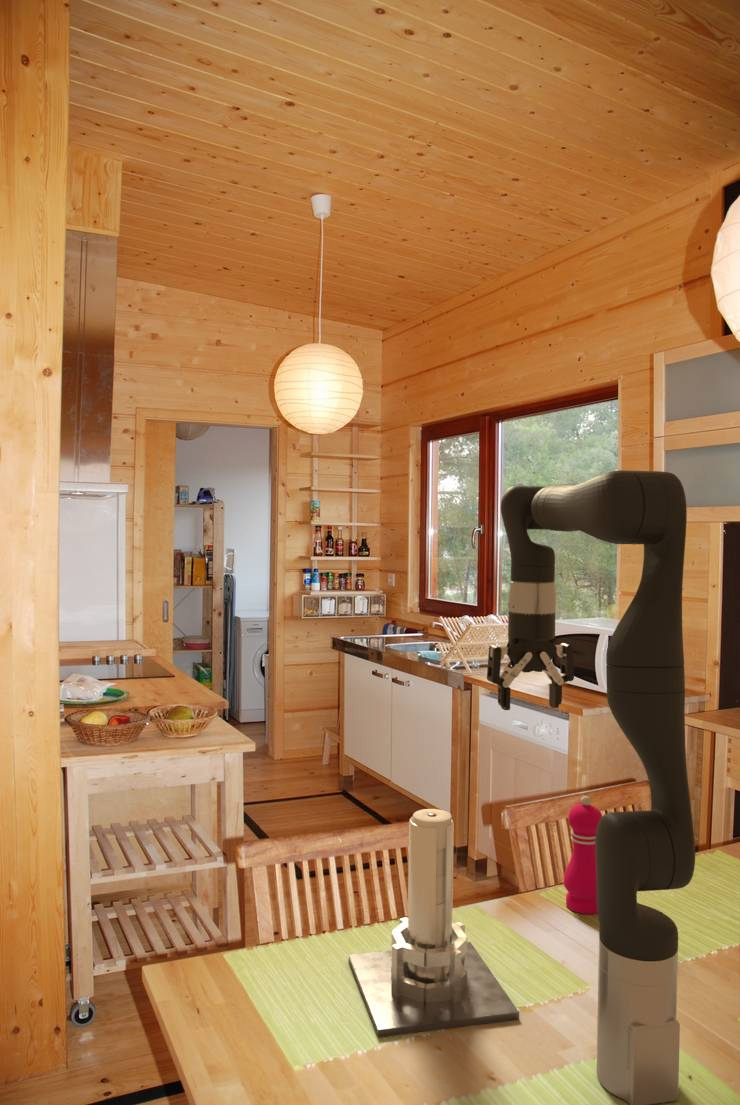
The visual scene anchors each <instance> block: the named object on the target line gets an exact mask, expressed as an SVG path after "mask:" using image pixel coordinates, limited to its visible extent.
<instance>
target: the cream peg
mask: <svg viewBox="0 0 740 1105" xmlns="http://www.w3.org/2000/svg"><path fill="white" fill-rule="evenodd" d="M452 818H453V817H452V814H451V812H448V811H446V810H442V809H437V808H423V809H419V810H416V811H415V812H413V814H412V816H411V817H410V818H409V820H408V868H407V869H408V872H407V873H408V874H407V875H408V876H407V878H408V879H407V880H408V881H407V882H408V883H407V885H408V886H407V887H408V888H407V890H408V891H407V918H408V944H410V945H414V946H417V947H420V948H423V949H435V948H445V947H449V946H450V945H451V944H453V942H452V923H453V902H454V901H453V900H454V899H453V896H454V895H453V892H454V891H453V890H454V886H453V885H454V884H453V883H454V835H455V834H454V829H455V827H454V825H455V824H454V820H453V819H452ZM407 978H409V979H412V980H415V981H418V982H421V983H424V984H431V983H440V982H448V981H449V965H448V966H439V967H430V968H426V966H425V967H424V968H423V967H420V966H417V965H414V964H411V963H408V962H407Z"/></svg>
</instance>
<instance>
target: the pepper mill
mask: <svg viewBox="0 0 740 1105" xmlns="http://www.w3.org/2000/svg"><path fill="white" fill-rule="evenodd" d="M591 801H592V800H591V798H590V797H589V796H588V795H584V796H582V797H581V798H580V803H578V804H576V805H573V806H572V807H571V808H570V810H569V812H568V816H567V822H568V824H569V826H570V827H571V828H572V829H571V830H570V834H571V835H570V839H571V841H572V846H573V847H572V853H571V857H570V860H569V862H568V864H567V866H566V869H565V871H564V875H563V885H564V887H565V889H566V891H567V892H566V894H565V905H566V907H567V908H568V909H569V910H571V911H572V912H575V913H578V914H581V913H582V914H583V915H593V914H598V910H597V877H596V854H595V840H596V831H597V826H598V823H599V821H600V819H601V817H602V816H603V815H602V813H601V811H600V809H598V807H596V806H595V805H592V804H591Z"/></svg>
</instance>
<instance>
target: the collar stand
mask: <svg viewBox="0 0 740 1105" xmlns="http://www.w3.org/2000/svg"><path fill="white" fill-rule="evenodd" d="M465 929H466V925H465V924H464V923H462V922H461V921H458V922H455V923H454V922H452V944H451V945H450V946H449V947H445V948H435V949H423V948H420V947H417V946H414V945H410V944H408V916H407V917H406V916H405V917H402V918H399V925H398V926H396V927H395V928H393V930H391V950H390V949H389V950H381V951H373V952H364V953H362V952H361V953H354V954H353V953H352V954H348V963H349V965H350V968H351V970H352V973H354V974H353V976H354V978H356V979H355V980H356V984H357V983H358V984H357V986H358V985H359V986H358V989H359V988H360V989H359V991H360V990H361V992H360V994H361V993H362V994H361V996H363V997H362V999H363V998H364V999H363V1001H365V1002H364V1004H365V1003H366V1005H365V1007H366V1006H367V1007H366V1009H367V1008H368V1010H367V1012H368V1011H369V1012H368V1014H370V1015H369V1017H370V1016H371V1017H370V1020H371V1019H372V1020H371V1022H373V1023H372V1024H374V1025H373V1027H375V1028H374V1031H375V1033H376V1032H377V1033H376V1035H377V1037H378V1038H382V1036H384V1037H389V1036H390V1035H392V1036H398V1035H399V1034H400V1035H406V1034H414V1033H422V1032H423V1033H424V1032H430V1031H438V1030H445V1029H453V1028H459V1027H460V1028H461V1027H468V1026H476V1025H483V1024H484V1025H485V1024H493V1023H497V1022H498V1023H499V1022H500V1023H501V1022H508V1021H509V1022H510V1021H514V1020H515V1021H516V1020H520V1011H519V1009H518V1008H517V1007H516V1005H515V1003H514V1002H513V1001H512V1000H511V998H510V997H509V996H508V994H507V993H506V991H505V989H504V988H503V987H502V985H501V983H499V981H498V980H497V978H496V976H495V975H494V974H493V972H492V971H491V969H490V968H489V966H488V965H487V964H486V963H485V961H484V960H483V958H482V956H481V955H480V953H479V952H478V950H477V949H476V948H475V946H474V945H473V943H472V942H471V941H468V937H467V935H466V932H465V931H466V930H465ZM407 962H408V963H411V964H414V965H417V966H420V967H423V968H424V967H425V966H426V968H430V967H439V966H448V965H449V981H448V982H440V983H431V984H424V983H421V982H418V981H415V980H412V979H409V978H407ZM400 1035H399V1036H400Z"/></svg>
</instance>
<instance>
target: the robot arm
mask: <svg viewBox="0 0 740 1105" xmlns="http://www.w3.org/2000/svg"><path fill="white" fill-rule="evenodd" d="M687 510H688V508H687V498H686V493H685V489H684V485H683V484H682V482H681V479H680V478H679V477H678V476H677V475H676V474H674V473H672V472H669V471H668V472H667V471H660V470H659V471H657V470H624V469H623V470H622V469H618V470H611V471H607V472H606V473H602V474H600V475H597V476H594V477H592V478H590V479H589V480H586V481H583V482H582V483H581V482H580V483H579V484H577V483H560V484H558V483H557V484H551V485H548V486H547V485H543V486H542V485H541V486H539V485H512V486H510V487H508V488H507V489H506V490H505V492H504V493H503V496H502V497H501V500H500V514H501V518H502V522H503V525H504V529H505V532H506V537H507V543H508V548H509V554H510V585H509V592H508V602H507V607H508V609H507V610H508V613H507V614H508V616H507V617H508V620H507V630H508V631H507V638H508V641H507V644H506V646H497V645H495V644H490V645H489V646H488V657H487V673H486V679H487V681H488V682H490V683H491V684H494V685H496V686H497V703H498V706H500V708H501V709H502V710H503V711H510V710H511V687H510V686H511V685H512V682H513V681H514V680H515V679H516V678H517V677H519V676H520V674H521V673H531V672H536V673H542V672H544V674H545V675H546V676H547V678H549V680H550V681H551V683H549V686H548V687H549V688H548V690H549V692H548V695H549V696H548V697H549V698H548V704H549V707H551V708H553V709H559V707H560V705H562V702H563V685H564V684H565V683H567V682H572V681H574V679H575V670H574V668H575V666H574V647H573V645H571V644H568V643H566V642H561V643H560V644H556V642H555V638H556V612H557V611H556V609H557V608H556V607H557V606H556V605H557V604H556V603H557V602H556V601H557V600H556V599H557V598H556V597H557V596H556V585H555V584H556V583H555V580H556V579H555V578H556V577H555V576H556V553H555V550H554V548H552V547H551V546H549V545H546V544H542V543H537V542H534V541H532V539H531V538H530V536H529V533H528V530H539V531H540V530H541V531H542V530H549V531H555V532H567V533H568V532H570V533H571V532H581V533H582V532H583V533H585V534H586V535H588V536H591V537H593V538H596V539H598V540H600V541H603V542H606V543H610V544H614V545H643V563H642V569H641V578H640V581H639V585H638V588H637V591H636V592H635V595H634V597H633V598H632V600H631V602H630V604H629V606H628V607H627V609H626V611H625V612H624V613H623V616H622V617H621V619H620V620H619V621H618V624H617V626H616V628H615V629H614V632H613V633H612V635H611V637H610V639H609V643H608V645H607V649H606V657H605V660H606V661H605V663H606V668H605V669H606V670H605V671H606V673H605V674H606V676H605V677H606V698H607V704H608V708H609V709H610V712H611V714H612V716H613V719H615V722H616V723H617V725H618V726H619V728H620V729H621V731H622V733H623V734H624V736H625V737H626V739H627V740H628V741H629V743H630V744H631V746H632V747H633V749H634V751H635V753H636V754H637V755H638V757H639V759H640V761H641V763H642V765H643V768H644V770H645V773H646V776H647V780H648V784H649V791H650V799H651V800H650V801H651V804H650V805H651V807H650V810H635V811H633V810H632V811H631V810H630V811H629V810H628V811H615V812H614V811H613V812H607V813H605V814H603V815H602V817H601V819H600V821H599V823H598V826H597V831H596V840H595V854H596V877H597V910H598V913H597V914H598V915H597V918H598V928H599V930H598V932H599V934H598V971H597V972H598V976H597V977H598V978H597V981H598V982H597V1018H596V1019H597V1028H596V1031H597V1032H596V1076H597V1079H598V1081H599V1083H600V1084H601V1085H602V1087H603V1088H604V1089H605V1090H607V1091H608V1092H609V1093H610V1094H612V1095H614V1096H615V1097H618V1098H620V1099H622V1100H624V1101H626V1102H627V1103H628V1104H629V1105H655V1104H656V1105H657V1104H663V1103H668V1102H669V1103H670V1102H675V1101H678V1100H679V1084H680V1083H679V1081H680V1076H679V1075H680V1074H679V1073H680V1070H679V1069H680V1039H681V1037H680V1036H681V1034H680V1033H681V1031H680V1030H681V1029H680V1028H681V1024H680V1022H679V1021H678V1020H677V1003H678V1002H677V999H678V998H677V997H678V965H679V964H678V962H679V959H678V958H679V930H678V927H677V925H676V923H675V922H674V920H673V919H672V918H671V917H669V916H668V915H667V914H665V913H663V912H662V911H660V910H658V909H656V908H654V907H651V906H648V905H645V904H642V903H640V902H638V898H637V897H638V896H637V894H638V892H650V891H652V892H653V891H666V890H667V891H669V890H679V889H683V888H685V887H686V886H688V885H689V884H690V883H691V881H692V879H693V876H694V871H695V865H696V843H695V842H696V841H695V833H694V831H695V830H694V822H693V813H692V805H691V796H690V787H689V778H688V767H687V766H688V765H687V748H686V747H687V746H686V721H685V716H686V714H685V710H686V708H685V704H686V700H685V699H686V685H685V684H686V682H685V681H686V680H685V679H686V678H685V659H684V658H685V656H684V655H685V654H684V639H683V638H684V637H683V636H684V635H683V634H684V633H683V632H684V631H683V584H684V583H683V582H684V581H683V580H684V567H685V566H684V564H685V563H684V562H685V550H686V538H687V537H686V536H687V520H688V519H687V516H688V515H687V514H688V513H687V512H688V511H687ZM556 654H557V656H558V657H559V664H560V665H559V666H560V667H559V668H560V670H558V669H557V667H556V665H555V664H554V663H553V661H552V660H553V658H554V657H555V655H556ZM505 655H507V657H508V658H509V660H508V662H507V663H506V665H505V666H504V667H503V671H502V672H501V665H502V664H501V662H502V660H503V659H504V658H505ZM559 671H560V672H559Z"/></svg>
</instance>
